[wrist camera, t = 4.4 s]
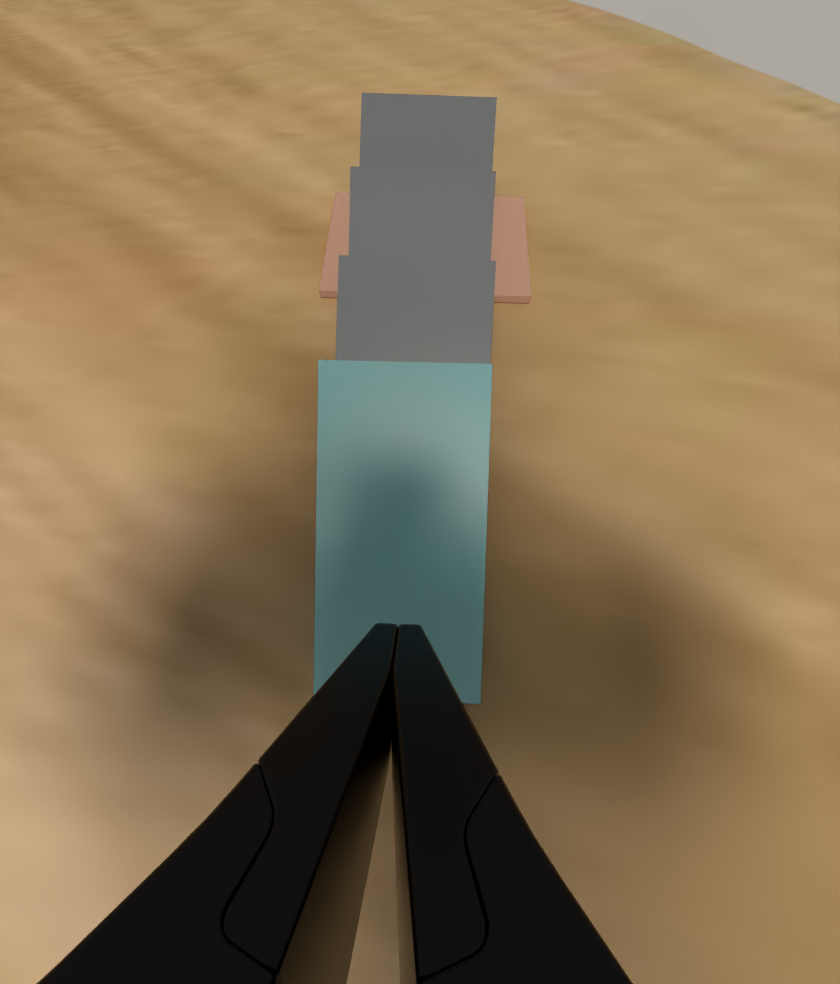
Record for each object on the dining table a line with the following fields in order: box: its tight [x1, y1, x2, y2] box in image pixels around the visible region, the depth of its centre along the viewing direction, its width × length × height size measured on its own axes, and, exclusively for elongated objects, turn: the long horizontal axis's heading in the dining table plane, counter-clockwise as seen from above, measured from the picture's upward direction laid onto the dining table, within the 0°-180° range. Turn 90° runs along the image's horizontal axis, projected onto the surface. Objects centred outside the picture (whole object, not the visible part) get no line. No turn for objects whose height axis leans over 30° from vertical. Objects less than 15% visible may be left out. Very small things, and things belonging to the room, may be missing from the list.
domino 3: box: [336, 255, 496, 364], centre depth 15 cm, size 2×5×10 cm
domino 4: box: [313, 360, 492, 704], centre depth 14 cm, size 2×5×10 cm
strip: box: [319, 193, 531, 303], centre depth 22 cm, size 7×10×1 cm
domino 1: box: [360, 93, 497, 171], centre depth 18 cm, size 2×5×10 cm
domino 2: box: [349, 167, 496, 261], centre depth 17 cm, size 2×5×10 cm
